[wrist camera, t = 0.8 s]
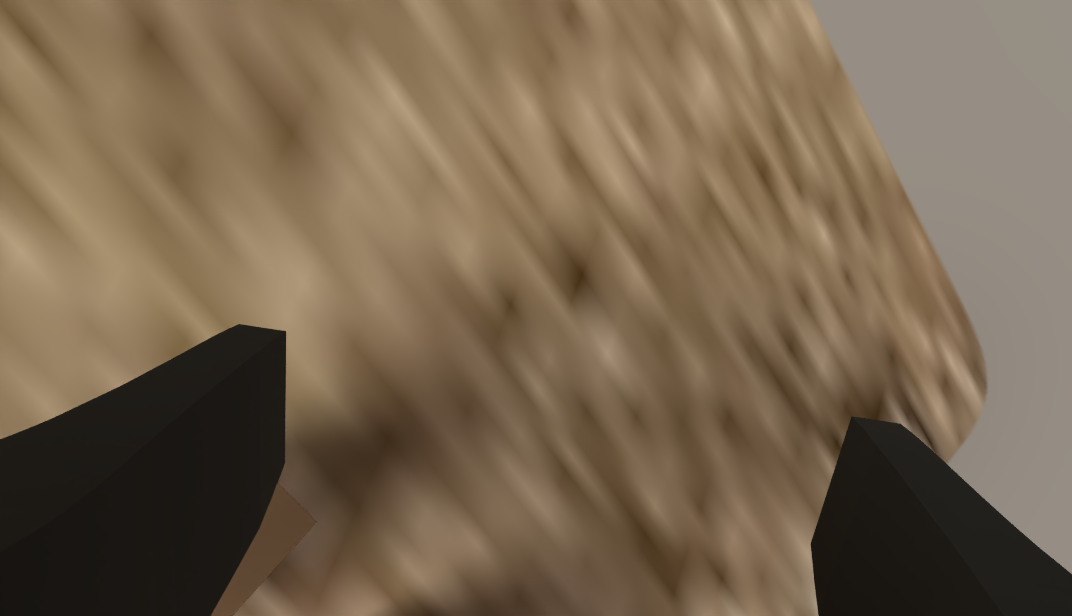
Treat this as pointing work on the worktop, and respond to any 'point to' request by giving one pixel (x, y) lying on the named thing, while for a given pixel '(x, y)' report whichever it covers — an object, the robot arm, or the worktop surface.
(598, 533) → the worktop surface
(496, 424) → the worktop surface
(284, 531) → the domino
